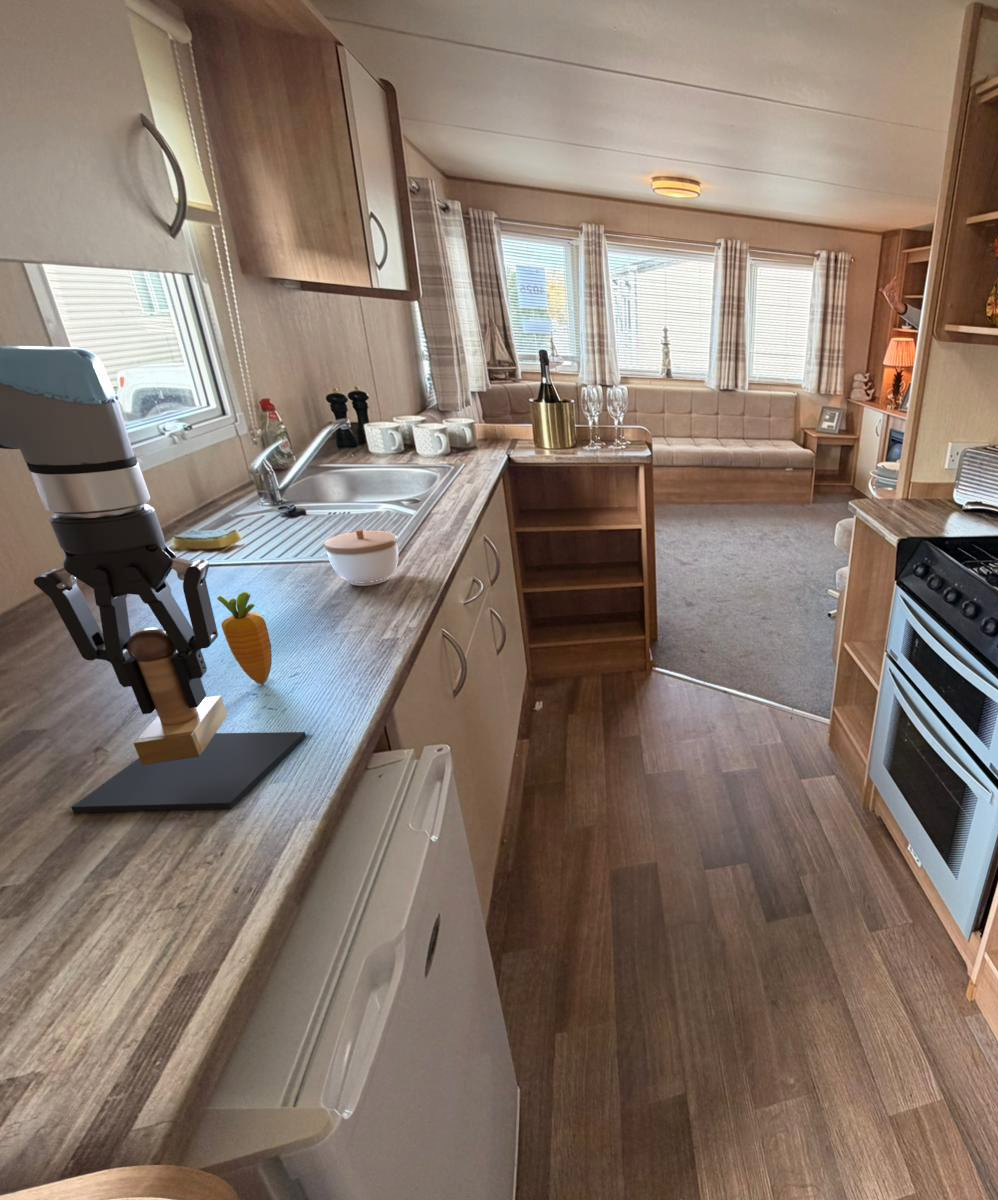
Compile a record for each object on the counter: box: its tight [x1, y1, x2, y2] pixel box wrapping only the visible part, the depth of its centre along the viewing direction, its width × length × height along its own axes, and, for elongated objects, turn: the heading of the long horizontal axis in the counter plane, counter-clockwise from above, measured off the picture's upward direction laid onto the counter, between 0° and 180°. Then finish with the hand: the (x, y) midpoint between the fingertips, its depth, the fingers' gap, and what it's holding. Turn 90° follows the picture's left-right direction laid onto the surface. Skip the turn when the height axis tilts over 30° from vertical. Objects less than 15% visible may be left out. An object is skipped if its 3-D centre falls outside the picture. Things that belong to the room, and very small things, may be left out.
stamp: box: [127, 627, 229, 765], centre depth 73 cm, size 9×5×14 cm, turn 23°
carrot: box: [216, 591, 273, 686], centre depth 93 cm, size 5×5×15 cm
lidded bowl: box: [323, 529, 399, 587], centre depth 134 cm, size 13×13×11 cm
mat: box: [70, 731, 307, 814], centre depth 77 cm, size 16×14×1 cm
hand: (175, 704), depth 74 cm, fingers closed on stamp, 3 cm apart
